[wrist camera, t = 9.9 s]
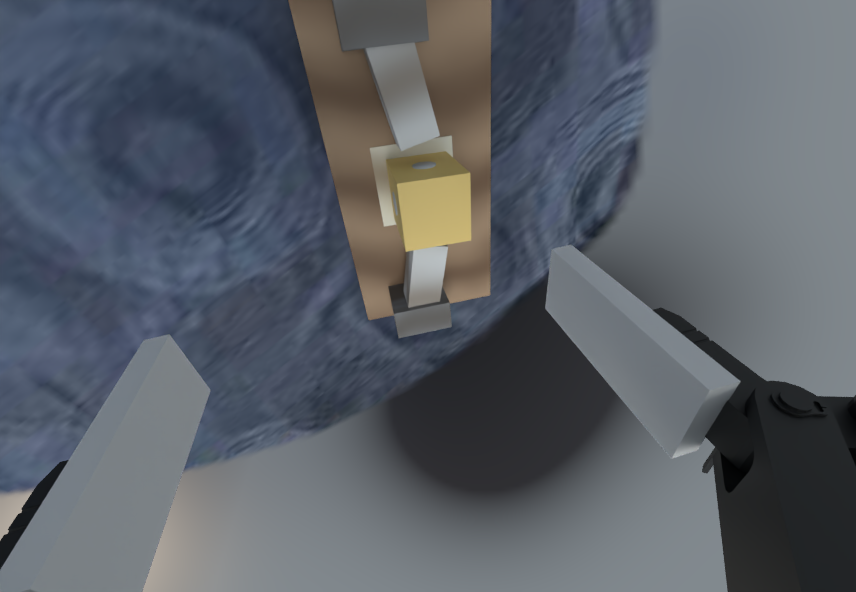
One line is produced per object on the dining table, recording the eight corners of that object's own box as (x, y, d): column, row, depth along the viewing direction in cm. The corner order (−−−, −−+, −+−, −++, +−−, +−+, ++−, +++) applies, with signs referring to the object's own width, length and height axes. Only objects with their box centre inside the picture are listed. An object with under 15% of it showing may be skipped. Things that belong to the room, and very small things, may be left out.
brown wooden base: (287, -12, 21) (272, -31, 16) (482, -31, 22) (521, -53, 18) (367, 311, 35) (372, 350, 30) (485, 287, 36) (506, 321, 31)
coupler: (384, 159, 26) (395, 183, 21) (446, 150, 26) (471, 171, 21) (393, 218, 28) (405, 252, 23) (449, 209, 29) (472, 241, 24)
